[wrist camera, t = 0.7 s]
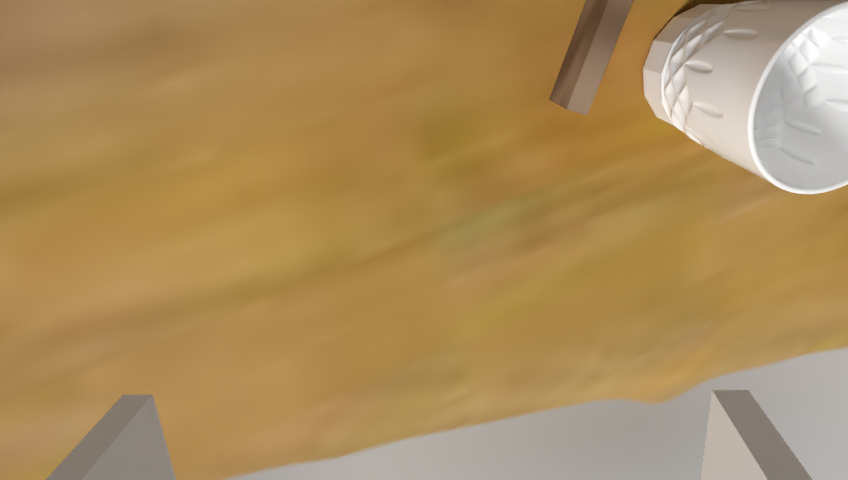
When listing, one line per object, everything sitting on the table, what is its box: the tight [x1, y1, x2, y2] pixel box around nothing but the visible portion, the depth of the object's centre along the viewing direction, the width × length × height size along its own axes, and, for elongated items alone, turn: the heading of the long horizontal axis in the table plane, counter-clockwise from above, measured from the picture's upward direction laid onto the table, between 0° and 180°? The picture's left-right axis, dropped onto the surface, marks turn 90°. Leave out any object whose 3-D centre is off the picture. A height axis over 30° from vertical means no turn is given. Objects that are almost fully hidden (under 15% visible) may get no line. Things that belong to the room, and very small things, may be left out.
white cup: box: [643, 0, 848, 194], centre depth 29 cm, size 8×8×10 cm
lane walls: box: [549, 0, 633, 115], centre depth 32 cm, size 8×15×2 cm, turn 73°
